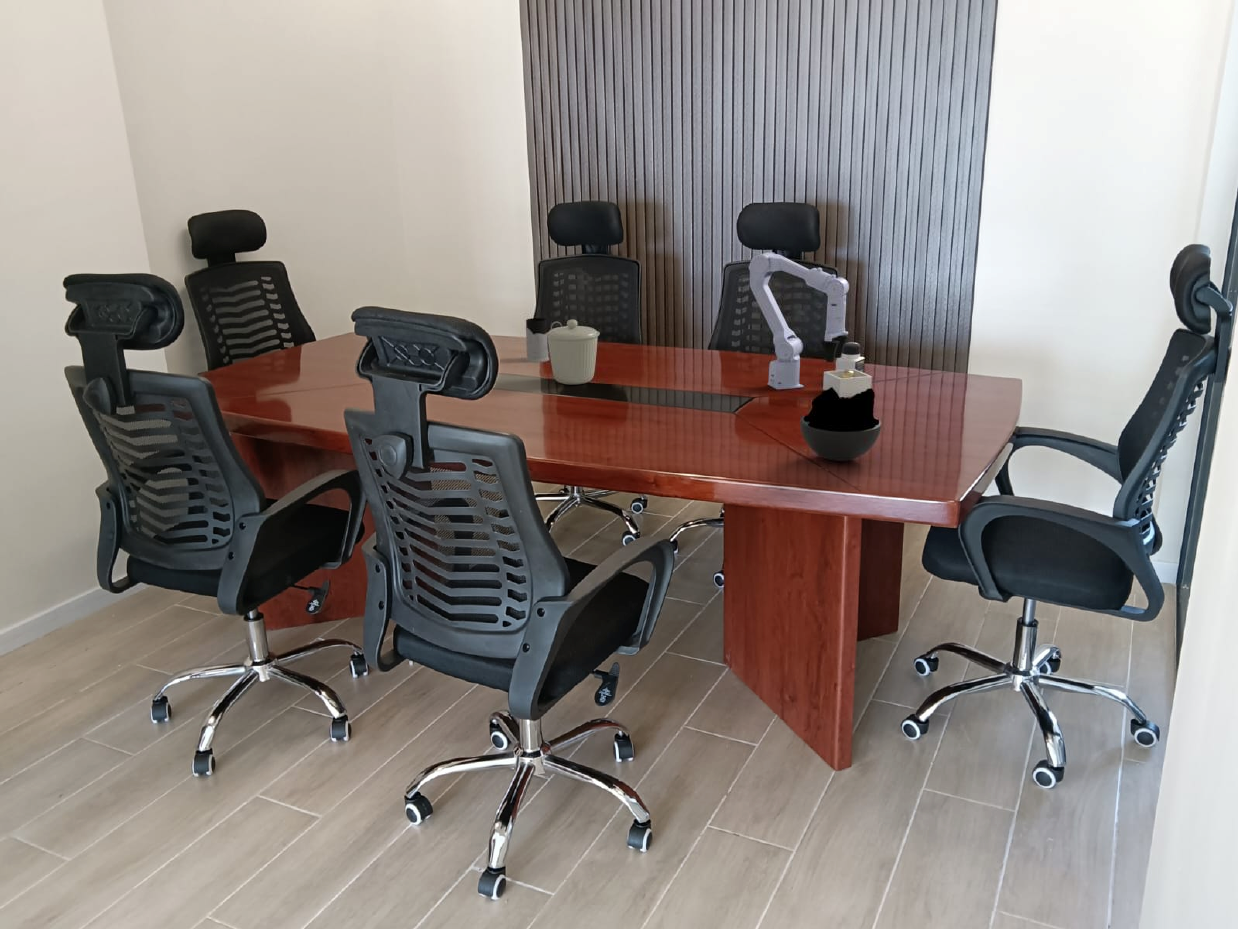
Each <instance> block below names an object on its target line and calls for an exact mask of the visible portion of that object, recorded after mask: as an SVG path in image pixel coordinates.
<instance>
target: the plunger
mask: <svg viewBox="0 0 1238 929" xmlns="http://www.w3.org/2000/svg"><path fill="white" fill-rule="evenodd" d="M853 374H854V371H852V370H843V371H842V378H853Z"/></svg>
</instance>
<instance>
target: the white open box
mask: <svg viewBox="0 0 1238 929" xmlns="http://www.w3.org/2000/svg"><path fill="white" fill-rule="evenodd" d="M851 370H852V371H854V374H853V378H842V371H843V370H839V371H836V370H828V371H823V384H822V386H823V387H822V390H823V391H824V390H827V389H829V388H831V387H833V389H834V390H835V391H836V392H837V393H838V395H839V397H844V398H851V397H853V396H854V395H855V394H857V393H859V394H860V393H861V392H863V391H866V390H867V389H870V388H872V378H873V376H871V375H869V374H867V373H865V372H864V373H863V372H860V371H858V370H856V369H851Z"/></svg>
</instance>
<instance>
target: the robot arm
mask: <svg viewBox="0 0 1238 929" xmlns="http://www.w3.org/2000/svg"><path fill="white" fill-rule="evenodd" d="M748 269H749V286H750V287H749V288H750V289H751V292H752V293H753V296H754V298H755V300H756V302H757V304H758V306H759V308H760V311H761V312H762V314H763V316H764V317H765V320H766V322H767V325H768V326H769V329H770V330H771V332H772V334H773V339H772V340H773V341H772V343H773V346H774V350H775V355H776V357H777V358H776V359H775V360H771V361H770V363H769V365H768V368H769V369H768V382H767V385H768V386H769V387H772V388H773V389H776V390H788V389H789V390H791V389H798V388H800V389H801V388H804V385H803V384H800V366H801V362H800V361H801V357H800V354H801V353H802V352H803V349H804V343H803V342H802V340H801V339H800V338H799V337H797V335H796V333H795V331H793V330H792V329H790V328H789V325H788V323H787V321H786V319H785V318H784V315H783V313H782V312H781V309H780V307H779V305H778V304H777V301H776V298H775V297H774V295H773V293H772V291H771V289H770V286H769V285H768V284H769V281H770V279H771V276H772V274H773V273H774V272H778V271H779V272H780V271H783V272H785V273H787V274H790V275H793V276H796V277H798V278H801V279H803V280H804V281H805V283H806V285H807V286H809V287H812V288H814V289H815V290H817V291H820V292H823V293H825V295H826V296H827V304H826V306H827V308H826V324H825V331H824V332H825V333H824V338H822V339H821V340H820V343H821V344H820V345H822V348H823V351H824V356H825V361H826V363H834V361H835V358H836V359H837V358H841V357H842V352H843V348H844V345H845V343H847V340H848V339H849V331H846V313H847V293H849V290H850V284H849V282H848V280H847V279H845V278H844V277H842V276H839V277H837V275H836V274H830V273H828V272H825V271H823V268H821V267H817V268H816V267H813V268H811V269H809V268H807V267H805V266H803V265H801V264H799V263H797V262H795V261H793V260H791V259H789V258H787V257H785V256H783V255H781V254H778V253H777V254H776V253H775V252H773V251H766V252H764V253H762V254H756V255H754V256H753V257H752V258H751V261H750V262H749V265H748Z"/></svg>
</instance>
